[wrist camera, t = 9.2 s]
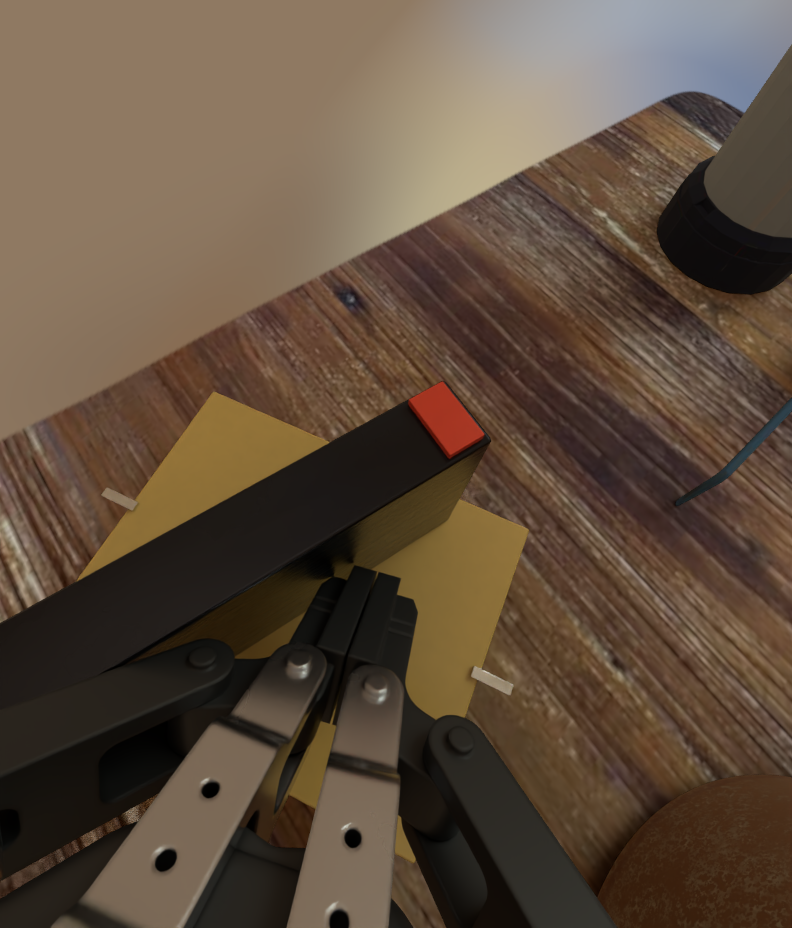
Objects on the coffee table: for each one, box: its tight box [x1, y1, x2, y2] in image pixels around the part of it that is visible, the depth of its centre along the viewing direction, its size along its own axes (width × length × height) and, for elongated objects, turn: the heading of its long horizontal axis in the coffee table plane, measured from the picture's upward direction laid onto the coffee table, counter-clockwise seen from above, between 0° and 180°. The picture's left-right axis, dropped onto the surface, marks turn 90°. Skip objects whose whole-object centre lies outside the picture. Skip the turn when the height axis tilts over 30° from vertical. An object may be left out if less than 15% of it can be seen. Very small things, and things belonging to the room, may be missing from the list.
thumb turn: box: [0, 381, 491, 710], centre depth 13 cm, size 12×2×7 cm, turn 123°
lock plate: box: [77, 392, 529, 863], centre depth 17 cm, size 16×11×3 cm
